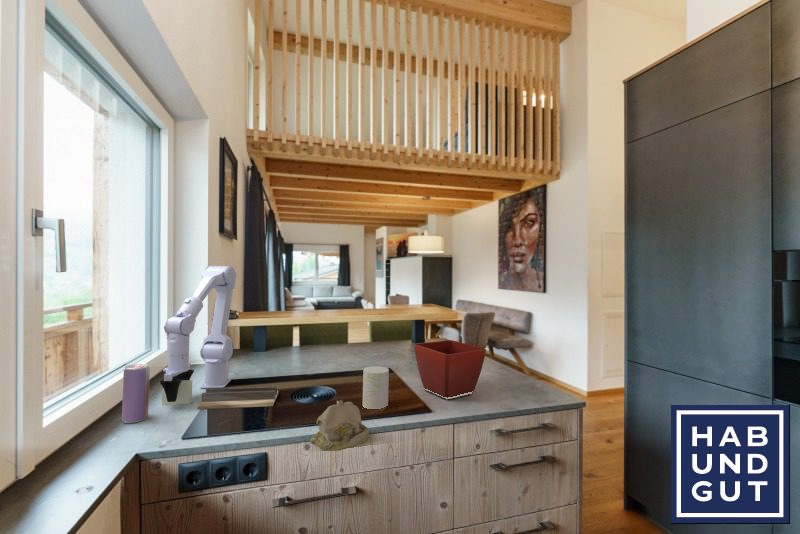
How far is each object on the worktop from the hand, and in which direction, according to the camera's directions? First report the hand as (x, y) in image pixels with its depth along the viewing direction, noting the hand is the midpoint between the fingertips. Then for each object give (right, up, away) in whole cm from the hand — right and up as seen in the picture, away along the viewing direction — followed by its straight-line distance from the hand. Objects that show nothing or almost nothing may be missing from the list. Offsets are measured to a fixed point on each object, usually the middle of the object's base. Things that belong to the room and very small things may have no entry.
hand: (177, 397), depth 114 cm
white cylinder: (+63, -4, 0) cm, 63 cm away
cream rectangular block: (0, -2, 0) cm, 2 cm away
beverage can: (-4, -2, -13) cm, 14 cm away
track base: (+19, -2, +3) cm, 19 cm away
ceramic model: (+55, -3, -22) cm, 60 cm away
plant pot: (+88, -5, +16) cm, 90 cm away
